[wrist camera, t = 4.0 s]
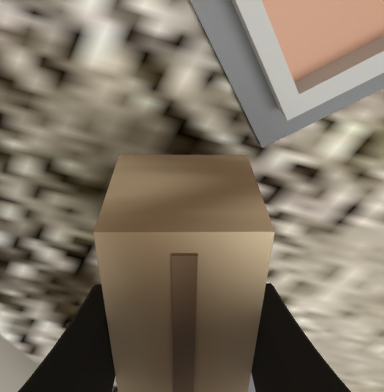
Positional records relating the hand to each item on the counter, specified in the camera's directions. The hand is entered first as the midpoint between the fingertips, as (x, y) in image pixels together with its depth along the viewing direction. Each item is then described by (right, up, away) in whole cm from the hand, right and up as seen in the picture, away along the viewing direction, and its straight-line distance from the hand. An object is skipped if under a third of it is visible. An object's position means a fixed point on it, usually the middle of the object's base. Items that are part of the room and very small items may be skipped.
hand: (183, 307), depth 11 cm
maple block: (0, +1, +2) cm, 3 cm away
